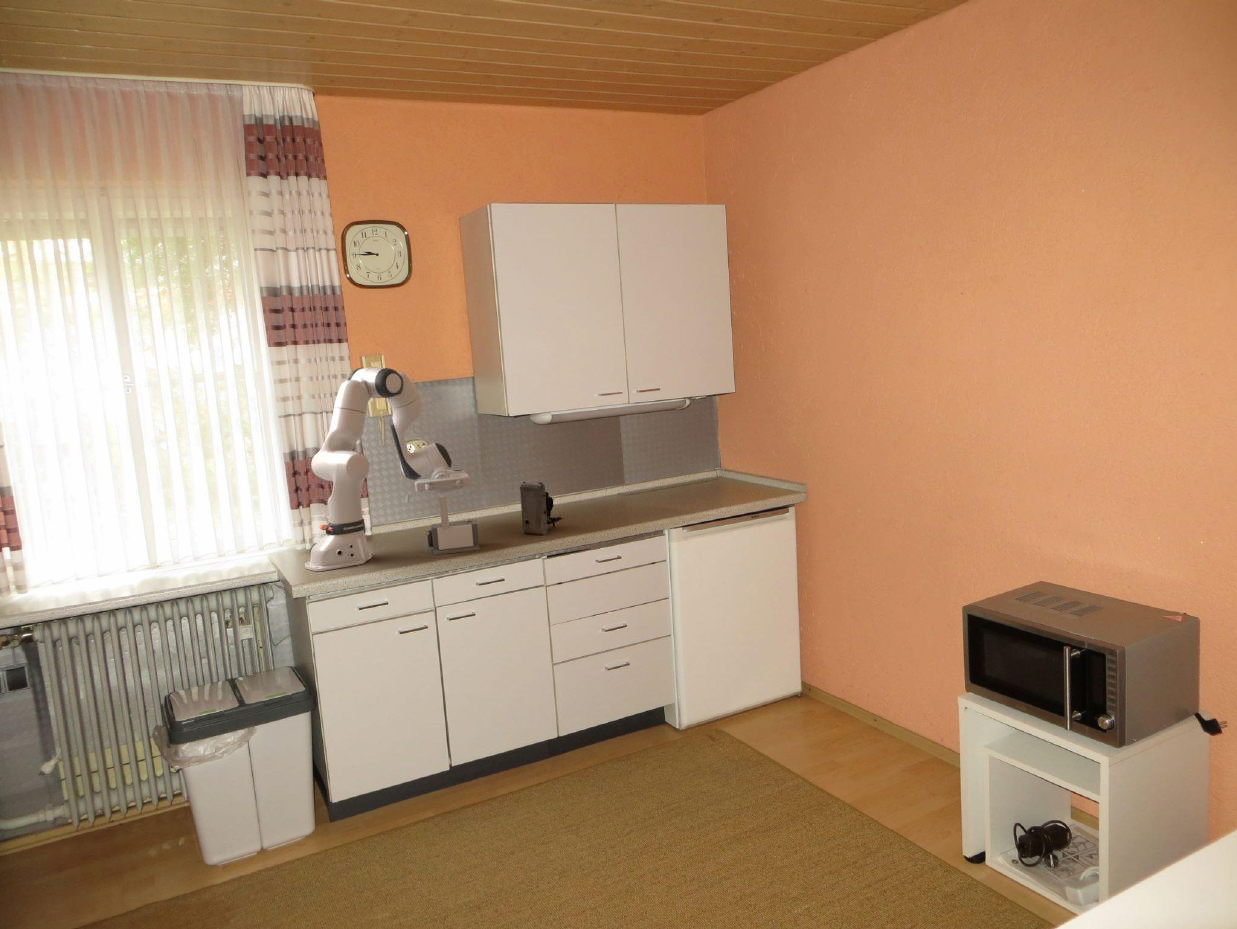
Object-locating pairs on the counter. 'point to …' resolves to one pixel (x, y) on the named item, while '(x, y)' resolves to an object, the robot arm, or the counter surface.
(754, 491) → the counter surface
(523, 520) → the vintage camera
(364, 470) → the robot arm
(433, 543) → the camera housing
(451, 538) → the side door
